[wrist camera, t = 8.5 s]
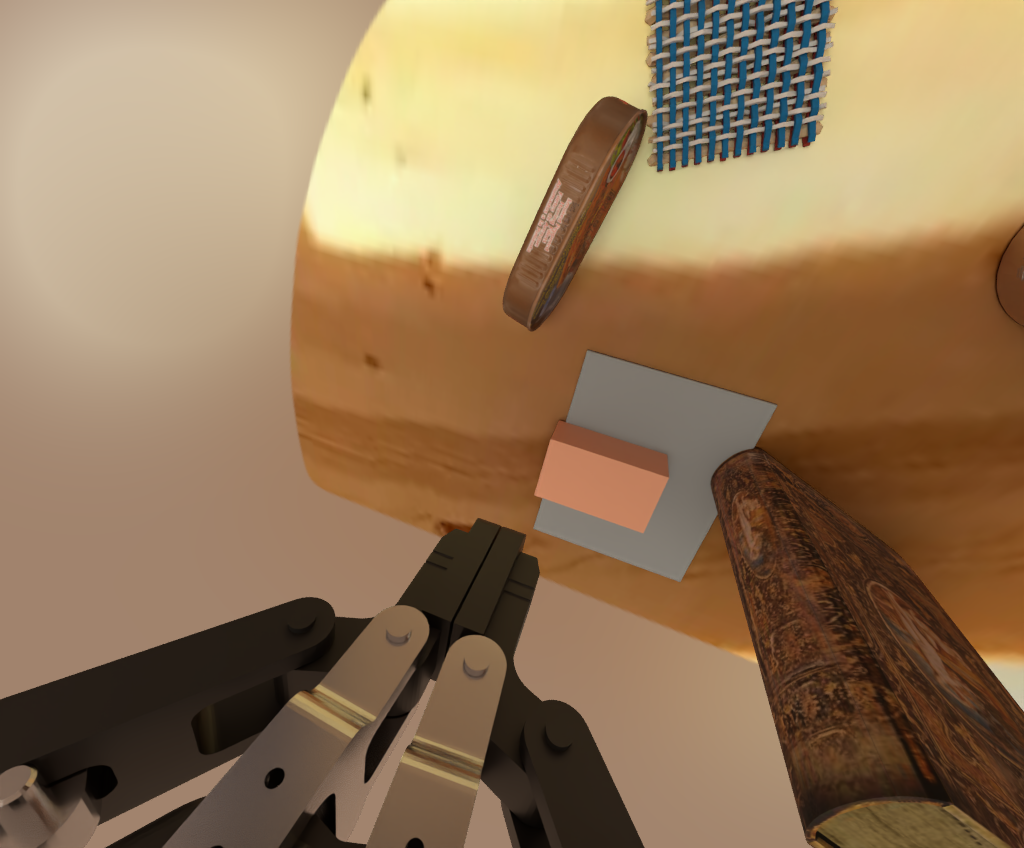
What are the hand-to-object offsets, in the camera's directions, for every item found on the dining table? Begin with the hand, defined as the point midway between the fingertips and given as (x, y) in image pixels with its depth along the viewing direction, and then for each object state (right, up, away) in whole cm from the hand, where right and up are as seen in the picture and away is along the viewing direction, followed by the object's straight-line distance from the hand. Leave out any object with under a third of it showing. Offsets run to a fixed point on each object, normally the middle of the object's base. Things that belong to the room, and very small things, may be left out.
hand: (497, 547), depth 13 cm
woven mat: (+14, +26, +15) cm, 34 cm away
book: (+25, -4, +25) cm, 36 cm away
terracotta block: (+4, +1, +27) cm, 27 cm away
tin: (+6, +19, +21) cm, 29 cm away
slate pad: (+12, -1, +27) cm, 30 cm away
